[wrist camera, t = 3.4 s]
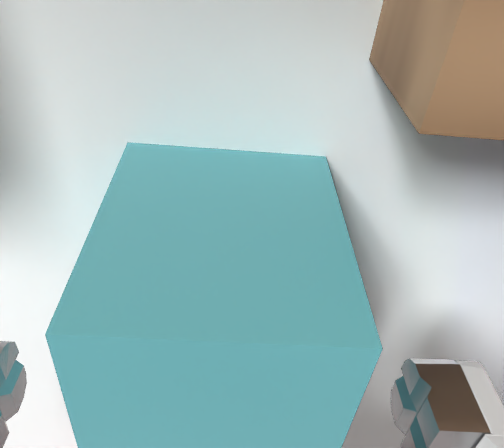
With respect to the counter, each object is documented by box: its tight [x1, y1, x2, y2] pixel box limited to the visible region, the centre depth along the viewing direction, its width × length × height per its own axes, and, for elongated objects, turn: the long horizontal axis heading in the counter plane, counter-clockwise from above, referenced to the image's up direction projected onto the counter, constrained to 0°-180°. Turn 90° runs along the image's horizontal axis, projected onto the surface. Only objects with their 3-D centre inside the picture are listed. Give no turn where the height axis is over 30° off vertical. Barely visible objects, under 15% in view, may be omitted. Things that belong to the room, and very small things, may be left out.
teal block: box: [45, 143, 382, 448], centre depth 11 cm, size 5×5×6 cm
